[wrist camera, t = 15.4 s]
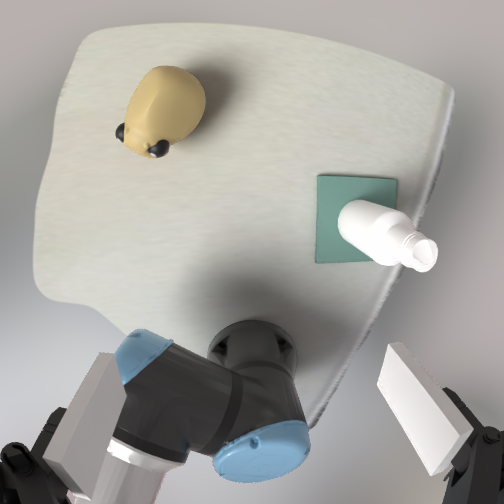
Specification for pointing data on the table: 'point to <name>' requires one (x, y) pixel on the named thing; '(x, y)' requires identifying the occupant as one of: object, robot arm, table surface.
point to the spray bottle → (386, 235)
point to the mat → (330, 205)
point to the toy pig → (162, 111)
